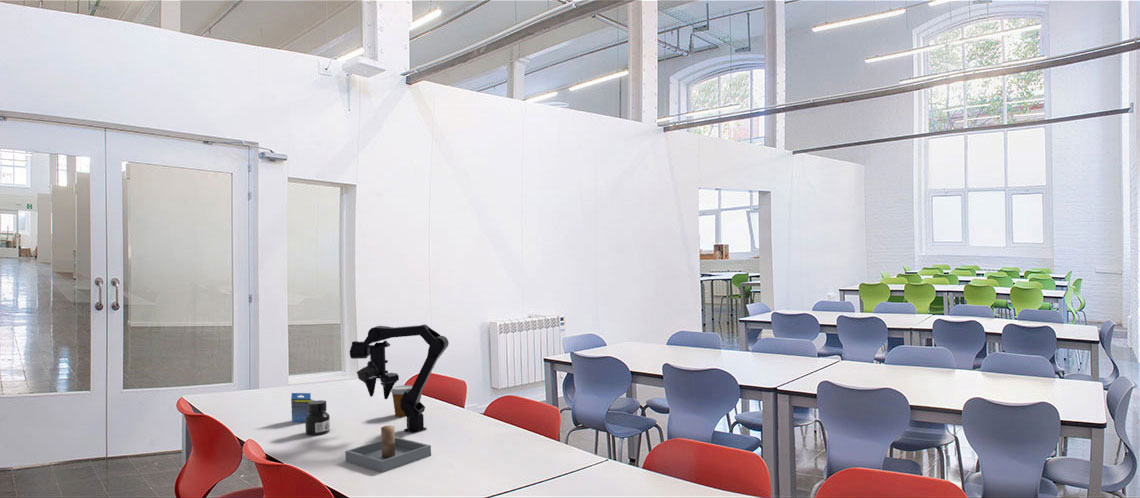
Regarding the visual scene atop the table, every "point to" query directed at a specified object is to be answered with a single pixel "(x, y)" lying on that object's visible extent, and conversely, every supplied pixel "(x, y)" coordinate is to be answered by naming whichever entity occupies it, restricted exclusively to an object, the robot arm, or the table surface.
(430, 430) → the table surface
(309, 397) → the label tape box
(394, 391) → the disposable coffee cup
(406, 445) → the tray
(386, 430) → the post
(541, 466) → the table surface
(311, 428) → the ink bottle
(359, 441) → the table surface
